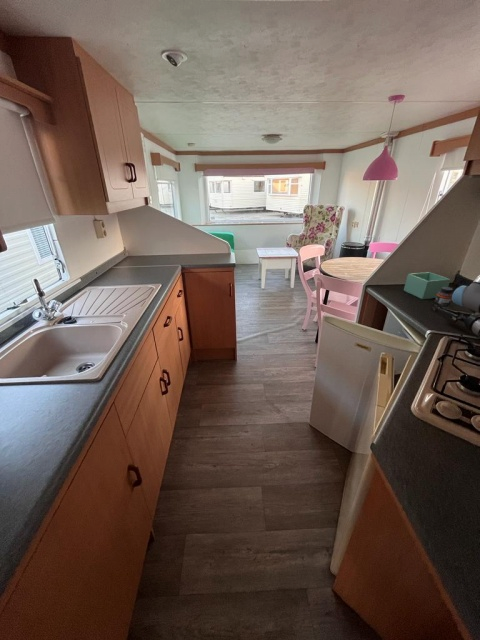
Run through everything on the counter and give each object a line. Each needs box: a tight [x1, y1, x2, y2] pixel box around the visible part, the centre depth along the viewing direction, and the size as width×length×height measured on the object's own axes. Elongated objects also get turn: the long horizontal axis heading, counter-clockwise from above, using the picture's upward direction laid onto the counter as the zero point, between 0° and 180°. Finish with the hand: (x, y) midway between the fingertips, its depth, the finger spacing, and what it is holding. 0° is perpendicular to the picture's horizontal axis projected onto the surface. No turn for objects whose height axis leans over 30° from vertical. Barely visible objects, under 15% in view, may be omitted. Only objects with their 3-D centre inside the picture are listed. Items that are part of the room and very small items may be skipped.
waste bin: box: [403, 271, 451, 300], centre depth 144 cm, size 14×14×10 cm
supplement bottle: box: [432, 286, 453, 311], centre depth 124 cm, size 6×6×11 cm
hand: (449, 303), depth 120 cm, fingers open, 13 cm apart
